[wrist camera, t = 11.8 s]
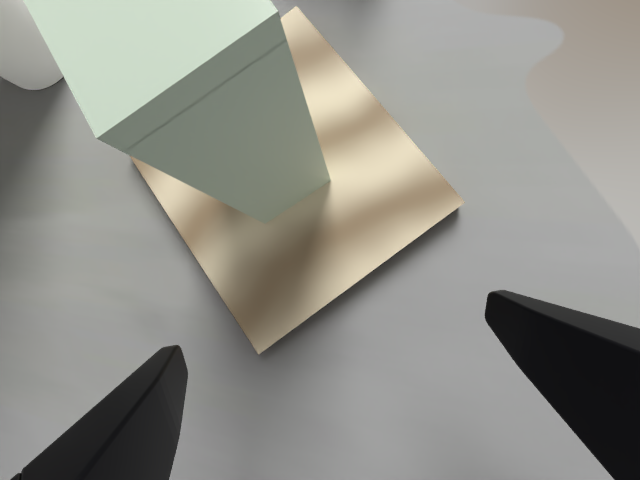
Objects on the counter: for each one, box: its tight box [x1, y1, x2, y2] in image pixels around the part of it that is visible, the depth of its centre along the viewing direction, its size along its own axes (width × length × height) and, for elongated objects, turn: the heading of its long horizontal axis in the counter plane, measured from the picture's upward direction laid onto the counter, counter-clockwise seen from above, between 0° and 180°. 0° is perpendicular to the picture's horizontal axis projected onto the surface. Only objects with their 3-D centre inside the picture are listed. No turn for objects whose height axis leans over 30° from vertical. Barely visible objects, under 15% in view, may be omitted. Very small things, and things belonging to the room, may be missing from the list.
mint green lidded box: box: [23, 0, 331, 224], centre depth 14 cm, size 5×5×13 cm
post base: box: [129, 6, 465, 355], centre depth 19 cm, size 18×16×5 cm
